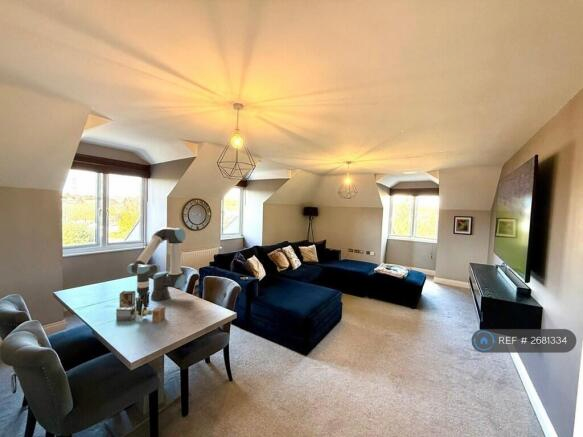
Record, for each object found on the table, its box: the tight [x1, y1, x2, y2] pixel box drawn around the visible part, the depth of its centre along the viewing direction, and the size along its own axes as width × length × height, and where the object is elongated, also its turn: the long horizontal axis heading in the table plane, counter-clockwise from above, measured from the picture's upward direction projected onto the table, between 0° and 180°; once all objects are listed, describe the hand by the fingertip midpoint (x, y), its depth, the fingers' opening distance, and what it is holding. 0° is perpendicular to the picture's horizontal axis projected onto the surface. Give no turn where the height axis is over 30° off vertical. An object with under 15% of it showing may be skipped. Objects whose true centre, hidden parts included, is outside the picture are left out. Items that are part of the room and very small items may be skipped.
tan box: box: [151, 305, 166, 324], centre depth 178 cm, size 8×5×9 cm, turn 1°
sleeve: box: [115, 305, 136, 322], centre depth 177 cm, size 6×10×8 cm, turn 91°
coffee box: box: [119, 290, 136, 307], centre depth 188 cm, size 9×6×16 cm
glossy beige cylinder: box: [131, 307, 153, 317], centre depth 178 cm, size 5×17×5 cm, turn 91°
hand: (142, 317), depth 178 cm, fingers closed on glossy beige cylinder, 5 cm apart
